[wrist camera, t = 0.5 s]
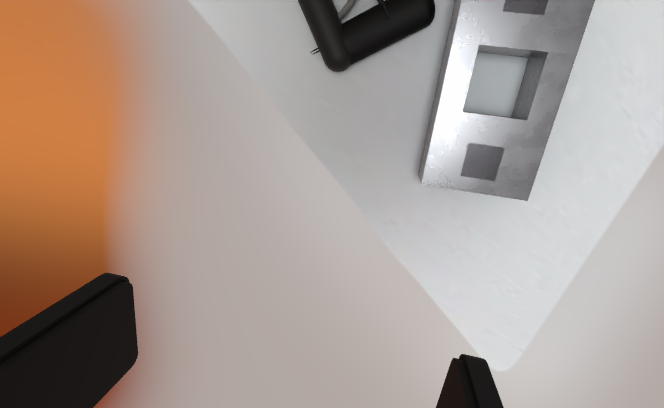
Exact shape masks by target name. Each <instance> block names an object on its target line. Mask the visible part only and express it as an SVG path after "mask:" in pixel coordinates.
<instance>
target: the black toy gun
mask: <svg viewBox="0 0 664 408" xmlns="http://www.w3.org/2000/svg"><path fill="white" fill-rule="evenodd" d="M355 1H356V0H348V1H347V3H346V5H345V6H344V7H343V9H342V10H341V11H340V12H339V13H337V11H336V8H335V6H334V3H333V1H332V0H298V2H299V4H300V6H301V8H302V11H303V13H304V15H305V18H306V20H307V22H308V25H309V27H310V29H311V32H312V34H313V36H314V39H315V41H316V43H317V46H318V48H316V49H315V50H317V49H319V51H320V53H321V55H322V57H323V60H324V62H325V64H326V66H327V67H328V68H329V69H331V70H332V71H336V72H341V71H344V70H346V69H347V68H348V67H349V66H350V65H352V64H354V63H356V62H358V61H360V60H362V59H364V58H366V57H368V56H370V55H371V54H373V53H375V52H377V51H379V50H381V49H383V48H385V47H387V46H389V45H391V44H393V43H395V42H397V41H399V40H401V39H403V38H405V37H407V36H409V35H411V34H413V33H415V32H417V31H419V30H421V29H423V28H425V27H427V26H428V25H430V24H431V23H432V21H433V19H434V15H435V4H434V0H385V1H383V0H377V1H378V3H379V4H378V5H376V6H374V7H372V8H370V9H369V10H367V11H365V12H363V13H361V14H359V15H357V16H356V17H354V18H352V19H350V20H348V21H346V22H344V23H343V24H342V23H341V20H340V19H341V18H343V17H344V16H345V15H346V14H347V13H348V12H349V10H350V9H351V8H352V6H353V5H354V3H355ZM315 50H313V51H315ZM313 51H312V52H313ZM319 51H317V52H319ZM317 52H315V53H317ZM310 53H311V52H310ZM315 53H314V54H315Z"/></svg>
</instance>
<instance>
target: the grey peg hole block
mask: <svg viewBox="0 0 664 408" xmlns="http://www.w3.org/2000/svg"><path fill="white" fill-rule="evenodd" d="M594 2H595V0H455V5H454V10H453V14H452V19H451V24H450V28H449V33H448V38H447V42H446V47H445V52H444V56H443V61H442V66H441V70H440V75H439V80H438V85H437V89H436V94H435V99H434V103H433V108H432V113H431V117H430V122H429V127H428V131H427V136H426V141H425V145H424V150H423V155H422V159H421V164H420V169H419V173H418V176H419V179H420V181H421V184H424V185H431V186H437V187H443V188H450V189H456V190H462V191H469V192H475V193H481V194H488V195H494V196H500V197H507V198H513V199H519V200H526V201H528V198H529V195H530V192H531V189H532V186H533V183H534V180H535V177H536V174H537V171H538V168H539V165H540V162H541V159H542V156H543V153H544V150H545V147H546V144H547V141H548V138H549V135H550V132H551V129H552V126H553V124H554V121H555V118H556V115H557V112H558V109H559V106H560V103H561V100H562V97H563V94H564V91H565V88H566V85H567V82H568V79H569V76H570V73H571V70H572V67H573V64H574V61H575V58H576V55H577V52H578V49H579V46H580V43H581V40H582V37H583V34H584V31H585V28H586V25H587V22H588V19H589V16H590V13H591V10H592V7H593V5H594ZM477 52H484V53H493V54H502V55H511V56H521V57H529V60H528V63H527V67H526V70H525V73H524V77H523V80H522V84H521V87H520V90H519V94H518V97H517V101H516V104H515V107H514V111H513V114H512V118H508V117H501V116H493V115H485V114H478V113H470V112H463V108H464V104H465V100H466V96H467V92H468V88H469V83H470V79H471V75H472V71H473V67H474V63H475V59H476V55H477Z"/></svg>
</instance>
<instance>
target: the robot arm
mask: <svg viewBox="0 0 664 408" xmlns="http://www.w3.org/2000/svg"><path fill="white" fill-rule="evenodd" d="M137 356H138V347H137V335H136V322H135V310H134V297H133V287H132V284H130V283H129V280H128V278H127V277H124V276H120V275H116V274H111V273H104V274H102V275H100V276H98V277H97V278H95V279H94V280H92V281H90V282H89V283H87V284H85V285H84V286H82V287H81V288H79V289H77V290H76V291H74V292H73V293H71V294H69V295H68V296H66V297H64V298H63V299H61V300H60V301H58V302H56V303H55V304H53V305H51V306H50V307H48V308H47V309H45V310H43V311H42V312H40V313H39V314H37V315H35V316H34V317H32V318H31V319H29V320H27V321H26V322H24V323H22V324H21V325H19V326H18V327H16V328H14V329H13V330H11V331H9V332H8V333H6V334H5V335H3V336H1V337H0V408H93V407H94V406H95V405H96V404H97V403H98V402H99V401H100V400H101V399H102V398H103V397H104V396H105V395H106V394H107V392H108V391H109V390H110V389H111V388H112V387H113V386H114V385H115V384H116V383H117V382H118V381H119V380H120V379H121V378H122V377H123V375H125V374H126V373H127V371H128V370H129V369H130V368H131V367H132V366H133V365H134V363H135V361H136V359H137ZM436 408H503V405H502V402H501V400H500V397H499V394H498V391H497V388H496V386H495V383H494V380H493V378H492V375H491V372H490V369H489V366H488V364H487V362H486V360H485V359H482V358H478V357H474V356H469V355H464V354H461V355H460V357H459V359H456V358H453V359H452V361H451V364H450V367H449V370H448V373H447V376H446V379H445V382H444V385H443V388H442V391H441V394H440V397H439V400H438V403H437V406H436Z"/></svg>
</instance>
